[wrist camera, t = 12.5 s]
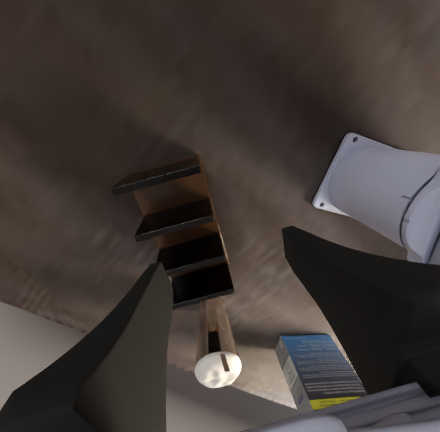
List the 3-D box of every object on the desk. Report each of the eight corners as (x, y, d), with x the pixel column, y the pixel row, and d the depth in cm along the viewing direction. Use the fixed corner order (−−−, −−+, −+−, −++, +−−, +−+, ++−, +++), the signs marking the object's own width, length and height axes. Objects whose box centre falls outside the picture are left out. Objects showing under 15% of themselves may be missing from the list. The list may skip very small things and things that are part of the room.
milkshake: (232, 286, 27) (253, 370, 18) (224, 316, 29) (239, 405, 20) (197, 284, 26) (200, 372, 17) (192, 315, 28) (192, 407, 19)
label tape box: (273, 349, 33) (314, 463, 22) (280, 332, 32) (327, 446, 21) (321, 348, 35) (382, 454, 24) (330, 332, 33) (400, 437, 22)
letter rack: (127, 173, 19) (107, 189, 15) (199, 154, 19) (201, 164, 15) (173, 276, 25) (168, 311, 20) (228, 261, 25) (236, 292, 20)
